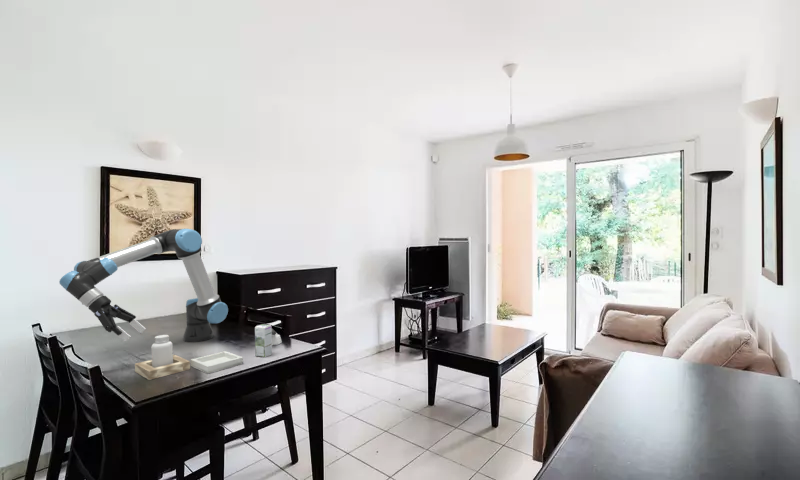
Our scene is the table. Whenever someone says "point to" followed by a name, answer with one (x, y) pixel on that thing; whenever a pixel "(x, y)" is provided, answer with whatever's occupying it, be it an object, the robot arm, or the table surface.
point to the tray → (216, 362)
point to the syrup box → (263, 340)
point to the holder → (162, 368)
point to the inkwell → (275, 338)
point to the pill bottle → (162, 351)
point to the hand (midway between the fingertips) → (136, 334)
